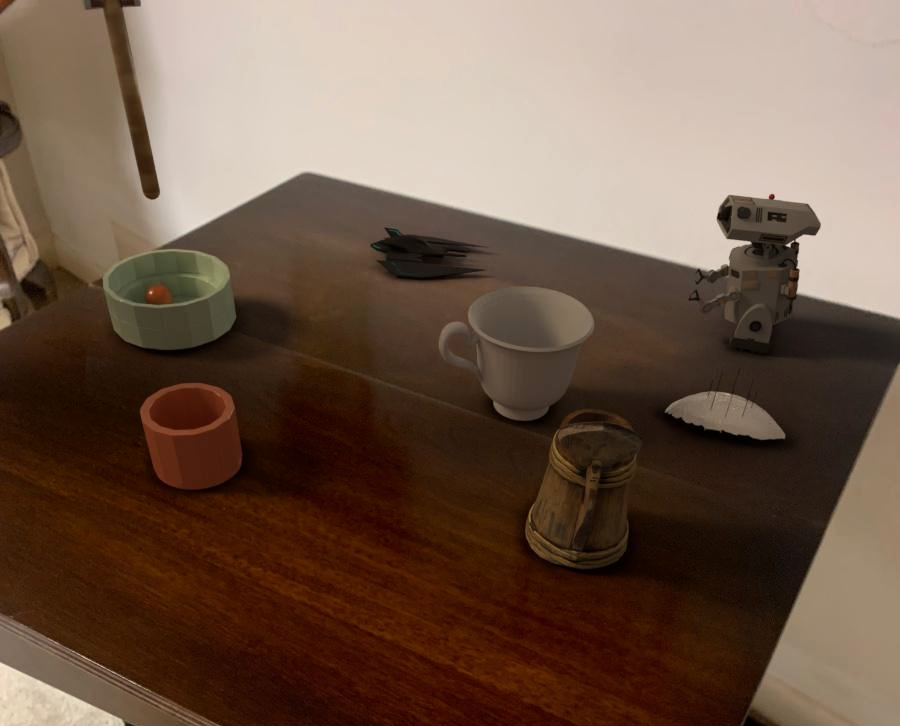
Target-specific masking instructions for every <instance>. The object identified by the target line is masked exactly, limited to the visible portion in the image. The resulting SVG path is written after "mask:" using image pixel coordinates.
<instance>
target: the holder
mask: <svg viewBox="0 0 900 726" xmlns="http://www.w3.org/2000/svg"><path fill="white" fill-rule="evenodd" d="M139 413H140V418H141V423H142V427H143V431H144V435H145V439H146V443H147V448H148V452H149V456H150V459H151V464H152V467H153V471H154V472H155V475H156V476H157V478H158V479H159V480H160V481H162V482H163V483H164V484H166V485H167V486H170V487H173V488H177V489H179V490H193V491H194V490H195V491H197V490H204V489H209V488H213V487H217V486H220V485H221V484H224V483H226V482H227V481H229V480H231V479H232V478H233V477H234V476H235V475H237V473H238V471H239V470H240V468H241V466H242V463H243V451H242V444H241V437H240V436H241V435H240V430H239V425H238V419H237V412H236V406H235V403H234V400H233V397H232V395H231V394H230V393H229V392H227V391H226V390H224V389H223V388H221V387H220V386H216V385H211V384H207V383H202V382H188V383H187V382H185V383H183V382H182V383H178V384H174V385H170V386H167V387H164V388H161V389H159V390H158V391H156V392H154V393H153V394H151V395H150V396H148V397H146V399H145V400H144V402H143V404H142V405H141V407H140V408H139Z"/></svg>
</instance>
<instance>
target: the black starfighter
mask: <svg viewBox="0 0 900 726" xmlns="http://www.w3.org/2000/svg"><path fill="white" fill-rule="evenodd" d="M383 229H384V230H385V231H386V233H387V234H388V237H383V239H380V240H378V241H375V242H373V243H370V248H372V249H373V250H374V251H377V252H380V253H382V254H386V256H385V259H384V260H383V259H376V260H375V261H376V262H377V263H379V264H380V265H381V266H382V267H383V268H385V269H386V270H387V271H389V272H390V273H391V274H392V275H393V276H395V277H396V278H398V279H399V278H400V279H413V280H427V279H433V278H440V277H447V276H448V277H449V276H455V275H456V276H457V275H462V274H471V273H477V272H485V271H487V269H483V268H482V269H481V268H473V267H466V266H465V267H464V266H455V265H445V264H444V265H443V264H435V263H425V262H424V261H423V260H421V258H423V259H424V258H425V259H426V258H427V259H444V257H450V258H467V257H468V256H467V255H466V254H468V253H469V252H468V251H467V250H463V249H458V248H456V247H452V246H460V247H473V248H488V249H490V247H488V246H484V245H478V244H472V243H467V242H461V241H457V240H456V241H455V240H450V239H445V238H439V237H433V236H427V235H426V236H425V235H424V236H423V235H418V234H417V235H416V234H404V233H402V232H400V231H399V230H398V229H397V228H390V227H385V226H383ZM461 253H463V254H461Z"/></svg>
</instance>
